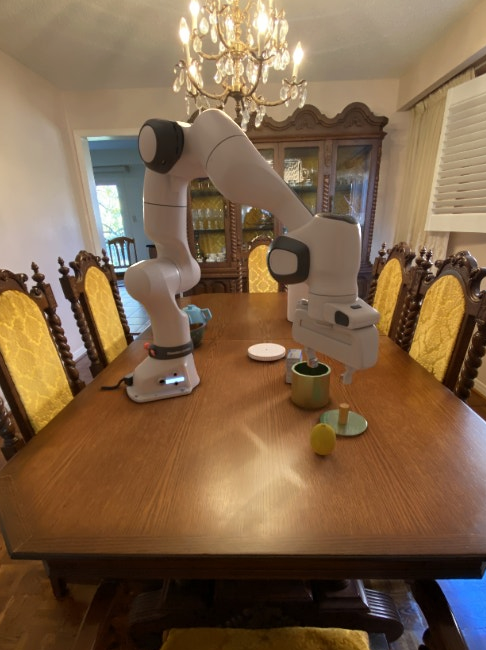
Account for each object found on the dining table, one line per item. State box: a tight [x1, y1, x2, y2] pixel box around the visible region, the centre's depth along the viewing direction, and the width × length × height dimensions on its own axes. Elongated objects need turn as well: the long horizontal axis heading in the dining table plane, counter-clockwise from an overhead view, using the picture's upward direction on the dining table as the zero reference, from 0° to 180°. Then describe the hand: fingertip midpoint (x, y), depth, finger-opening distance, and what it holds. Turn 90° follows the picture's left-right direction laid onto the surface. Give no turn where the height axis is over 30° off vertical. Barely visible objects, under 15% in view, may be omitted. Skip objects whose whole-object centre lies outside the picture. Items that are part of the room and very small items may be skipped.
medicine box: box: [285, 348, 303, 384], centre depth 110 cm, size 8×4×9 cm, turn 168°
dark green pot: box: [151, 323, 205, 349], centre depth 139 cm, size 13×20×10 cm, turn 99°
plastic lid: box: [247, 342, 286, 362], centre depth 130 cm, size 14×14×2 cm
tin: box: [290, 360, 332, 410], centre depth 96 cm, size 10×10×10 cm
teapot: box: [181, 304, 213, 327], centre depth 164 cm, size 15×15×11 cm
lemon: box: [309, 423, 337, 456], centre depth 75 cm, size 6×6×8 cm
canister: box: [286, 283, 309, 323], centre depth 171 cm, size 16×16×20 cm
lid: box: [319, 402, 368, 438], centre depth 85 cm, size 11×11×6 cm
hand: (328, 374), depth 69 cm, fingers open, 8 cm apart
